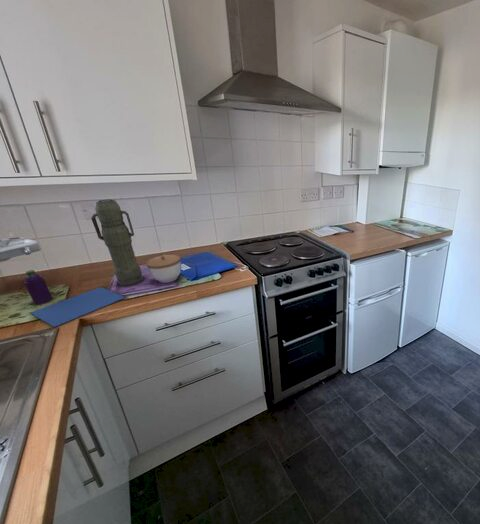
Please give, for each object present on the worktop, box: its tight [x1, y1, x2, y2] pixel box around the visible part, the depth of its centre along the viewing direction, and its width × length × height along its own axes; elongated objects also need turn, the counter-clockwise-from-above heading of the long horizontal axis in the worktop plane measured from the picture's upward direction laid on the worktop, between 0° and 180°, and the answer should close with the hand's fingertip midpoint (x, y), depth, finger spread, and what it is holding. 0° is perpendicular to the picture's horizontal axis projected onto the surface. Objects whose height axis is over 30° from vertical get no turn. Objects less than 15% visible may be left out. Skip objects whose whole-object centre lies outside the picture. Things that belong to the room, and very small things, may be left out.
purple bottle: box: [23, 269, 54, 305], centre depth 111 cm, size 5×5×12 cm
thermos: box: [90, 198, 144, 287], centre depth 122 cm, size 9×12×35 cm
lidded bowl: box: [145, 254, 182, 284], centre depth 129 cm, size 13×13×11 cm
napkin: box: [30, 286, 126, 328], centre depth 111 cm, size 22×18×1 cm
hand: (11, 256), depth 113 cm, fingers open, 8 cm apart
